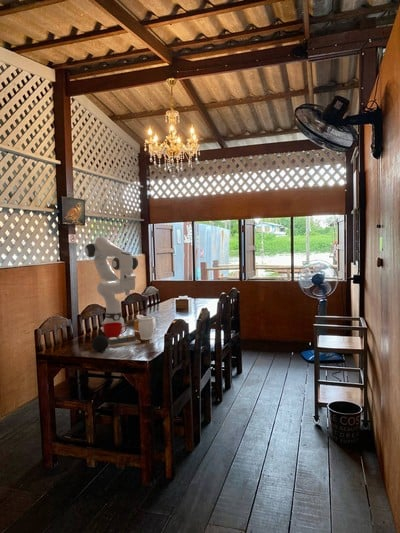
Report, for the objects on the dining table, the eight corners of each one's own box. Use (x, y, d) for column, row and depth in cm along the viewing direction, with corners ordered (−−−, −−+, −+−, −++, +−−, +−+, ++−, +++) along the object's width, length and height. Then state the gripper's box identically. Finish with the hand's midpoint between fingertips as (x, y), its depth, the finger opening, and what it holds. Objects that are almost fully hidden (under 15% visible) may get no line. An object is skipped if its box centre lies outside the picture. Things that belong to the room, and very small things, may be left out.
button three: (126, 339, 264) (126, 335, 264) (132, 338, 266) (131, 334, 266) (128, 340, 261) (128, 336, 261) (134, 340, 263) (134, 335, 263)
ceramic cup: (123, 340, 269) (122, 326, 268) (100, 340, 272) (99, 326, 272) (130, 336, 282) (129, 322, 281) (108, 335, 285) (107, 322, 284)
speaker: (111, 351, 243) (111, 335, 243) (98, 354, 236) (97, 338, 235) (102, 348, 250) (102, 333, 249) (89, 351, 243) (88, 336, 242)
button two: (118, 341, 261) (117, 336, 261) (123, 340, 263) (123, 335, 263) (120, 342, 258) (120, 337, 258) (125, 341, 260) (125, 336, 260)
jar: (139, 341, 267) (138, 319, 266) (137, 337, 277) (137, 316, 276) (155, 339, 270) (154, 318, 269) (152, 336, 280) (152, 315, 279)
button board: (103, 344, 260) (103, 338, 259) (134, 339, 271) (134, 333, 271) (108, 348, 250) (108, 341, 250) (140, 342, 262) (140, 336, 262)
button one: (109, 342, 258) (109, 337, 258) (115, 341, 260) (115, 336, 260) (111, 343, 255) (111, 338, 254) (117, 342, 257) (117, 337, 257)
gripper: (117, 274, 276) (117, 294, 277) (127, 276, 259) (128, 297, 260) (125, 274, 280) (126, 293, 280) (136, 276, 262) (137, 296, 263)
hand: (127, 295), depth 270 cm, fingers closed
